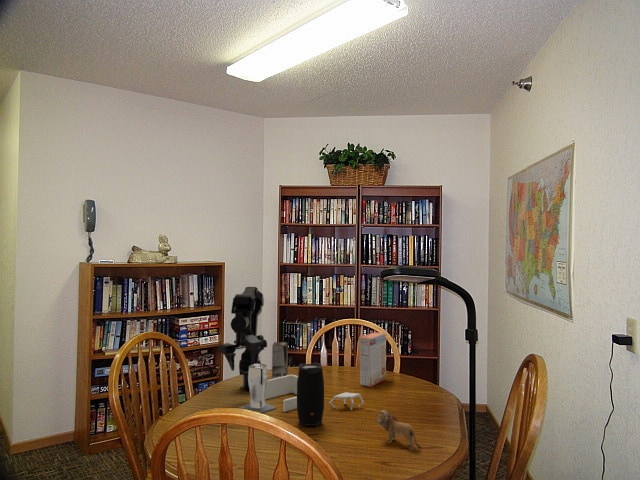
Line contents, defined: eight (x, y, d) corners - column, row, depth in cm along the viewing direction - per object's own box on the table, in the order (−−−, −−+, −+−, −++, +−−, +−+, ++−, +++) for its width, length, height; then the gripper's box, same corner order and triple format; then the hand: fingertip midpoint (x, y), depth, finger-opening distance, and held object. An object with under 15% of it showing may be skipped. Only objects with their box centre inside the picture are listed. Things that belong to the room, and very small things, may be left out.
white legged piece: (351, 402, 182) (352, 389, 182) (364, 408, 175) (364, 395, 175) (325, 407, 176) (325, 393, 176) (337, 414, 169) (337, 400, 169)
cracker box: (374, 377, 215) (374, 331, 215) (386, 380, 212) (386, 333, 212) (358, 385, 204) (358, 336, 204) (370, 387, 200) (370, 338, 200)
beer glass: (263, 410, 170) (264, 368, 170) (245, 409, 171) (245, 367, 172) (269, 404, 177) (269, 364, 177) (251, 403, 178) (251, 363, 179)
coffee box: (286, 383, 206) (286, 345, 207) (271, 383, 206) (271, 345, 207) (288, 377, 216) (288, 341, 216) (273, 377, 216) (274, 341, 216)
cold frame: (257, 400, 183) (257, 382, 183) (291, 391, 194) (292, 374, 195) (284, 411, 170) (284, 392, 171) (319, 401, 182) (319, 383, 182)
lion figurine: (374, 440, 146) (374, 411, 146) (382, 435, 150) (382, 406, 150) (418, 453, 137) (418, 422, 137) (426, 447, 141) (426, 416, 141)
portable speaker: (320, 429, 154) (320, 369, 154) (292, 426, 157) (293, 367, 157) (327, 420, 162) (327, 363, 162) (301, 417, 165) (301, 361, 165)
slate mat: (237, 408, 174) (237, 406, 174) (260, 402, 181) (260, 401, 181) (253, 415, 167) (253, 414, 167) (276, 409, 173) (276, 407, 173)
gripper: (233, 333, 169) (233, 377, 169) (275, 327, 181) (275, 368, 181) (217, 329, 177) (217, 371, 177) (258, 323, 190) (258, 362, 189)
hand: (243, 368), depth 181 cm, fingers open, 9 cm apart
